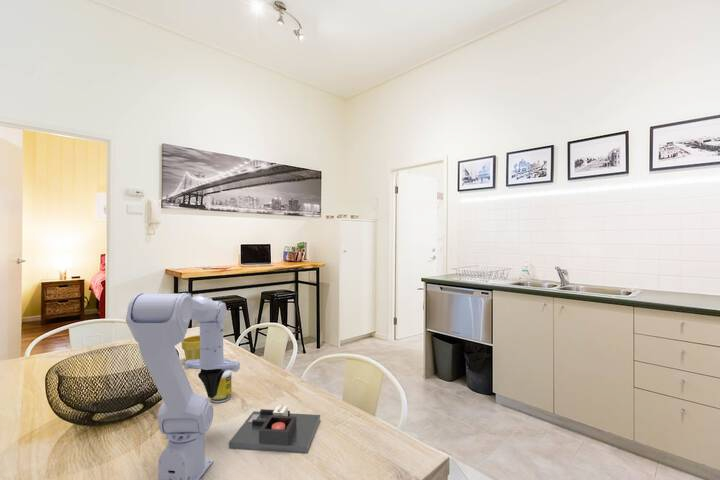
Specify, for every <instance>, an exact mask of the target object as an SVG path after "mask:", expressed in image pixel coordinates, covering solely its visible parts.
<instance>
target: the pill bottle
mask: <svg viewBox="0 0 720 480" xmlns="http://www.w3.org/2000/svg"><path fill="white" fill-rule="evenodd" d="M232 387H233V386H232V371H230V370H225V371H224V373H223V375H222V378H221V380H220V383H219V386H218V390H217V395H216V396H215V397H214V398H209V399H210V402H211V403H212V402H213V403H224V402H227V401H229V400H231V398H232V395H233V393H232V390H233V389H232Z"/></svg>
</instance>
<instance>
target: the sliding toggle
mask: <svg viewBox="0 0 720 480" xmlns="http://www.w3.org/2000/svg"><path fill="white" fill-rule="evenodd" d="M273 410H274V411H273V415H275V416H288V411H289V405H284V404H283V403H281V404H280V405H277V406H276V407H275V408H274V409H273Z"/></svg>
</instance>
